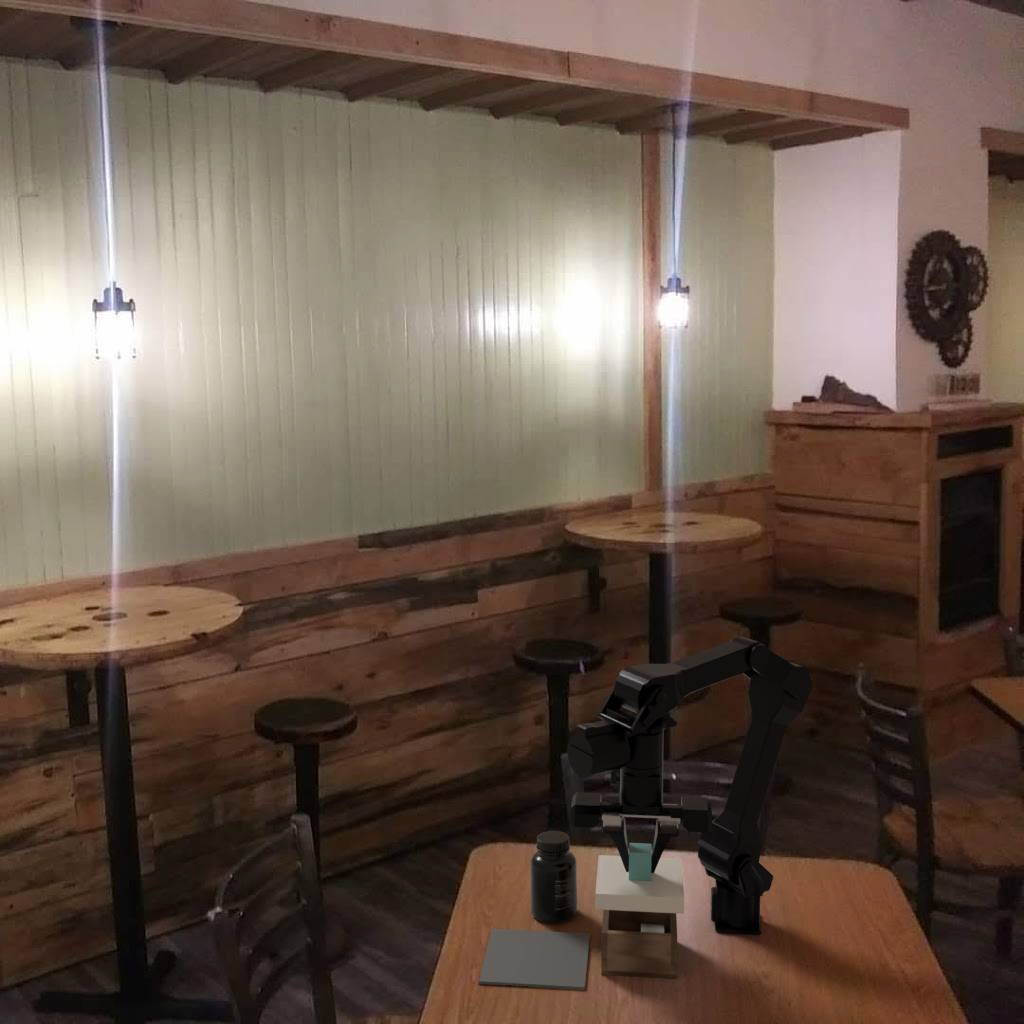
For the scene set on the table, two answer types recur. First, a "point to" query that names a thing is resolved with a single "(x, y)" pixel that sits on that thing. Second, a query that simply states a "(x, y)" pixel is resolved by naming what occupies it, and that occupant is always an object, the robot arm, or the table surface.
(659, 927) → the parts box
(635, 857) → the lid
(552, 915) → the supplement bottle
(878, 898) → the table surface
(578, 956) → the mat
